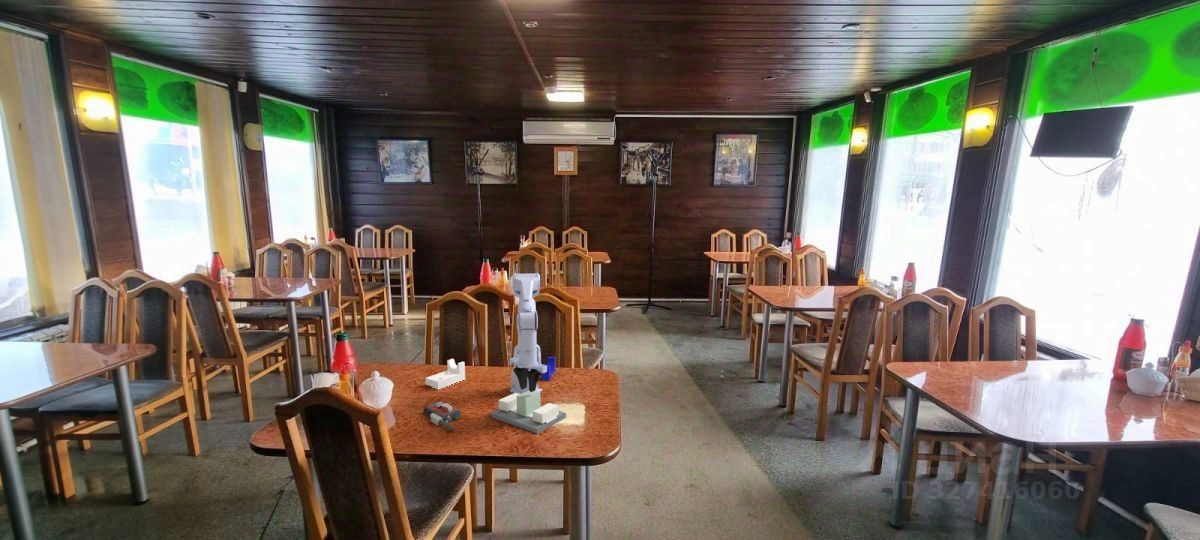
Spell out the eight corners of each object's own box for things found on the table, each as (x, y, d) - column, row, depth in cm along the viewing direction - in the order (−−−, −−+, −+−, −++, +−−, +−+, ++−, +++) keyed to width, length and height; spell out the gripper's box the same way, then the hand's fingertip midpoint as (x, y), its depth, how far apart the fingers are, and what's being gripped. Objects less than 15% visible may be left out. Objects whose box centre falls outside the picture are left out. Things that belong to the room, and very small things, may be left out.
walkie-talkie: (417, 415, 164) (451, 434, 152) (416, 403, 164) (451, 420, 151) (441, 407, 171) (475, 425, 158) (440, 395, 170) (475, 411, 157)
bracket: (453, 376, 200) (452, 358, 199) (465, 380, 196) (464, 361, 195) (425, 386, 190) (425, 367, 189) (438, 390, 186) (437, 371, 185)
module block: (516, 413, 161) (516, 395, 160) (531, 406, 167) (531, 389, 166) (526, 416, 159) (525, 398, 158) (540, 409, 165) (540, 392, 164)
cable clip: (545, 370, 208) (544, 356, 208) (555, 371, 208) (555, 357, 207) (537, 380, 197) (537, 366, 196) (549, 381, 196) (548, 366, 195)
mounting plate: (491, 417, 163) (490, 402, 162) (520, 403, 174) (520, 389, 174) (537, 433, 152) (537, 418, 151) (565, 417, 163) (565, 403, 163)
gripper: (502, 348, 161) (503, 388, 163) (536, 356, 153) (536, 398, 154) (517, 343, 166) (518, 382, 168) (551, 350, 158) (551, 391, 160)
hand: (528, 389), depth 162 cm, fingers open, 3 cm apart
